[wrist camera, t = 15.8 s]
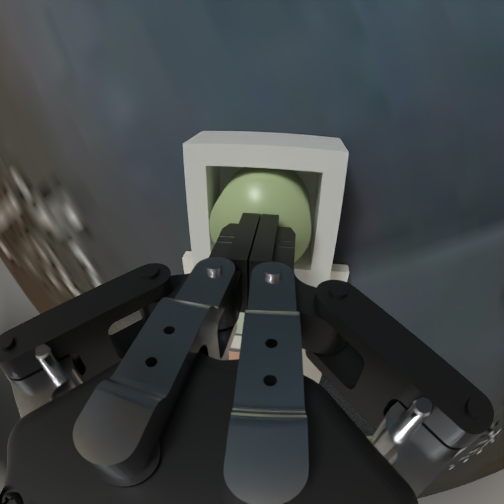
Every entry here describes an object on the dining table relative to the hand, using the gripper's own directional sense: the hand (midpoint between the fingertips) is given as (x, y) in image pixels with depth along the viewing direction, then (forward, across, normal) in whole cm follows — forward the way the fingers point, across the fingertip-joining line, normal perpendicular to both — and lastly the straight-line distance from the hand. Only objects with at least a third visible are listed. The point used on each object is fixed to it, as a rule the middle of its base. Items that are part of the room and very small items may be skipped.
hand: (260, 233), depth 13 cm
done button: (+3, 0, 0) cm, 3 cm away
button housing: (+4, 0, 0) cm, 4 cm away
